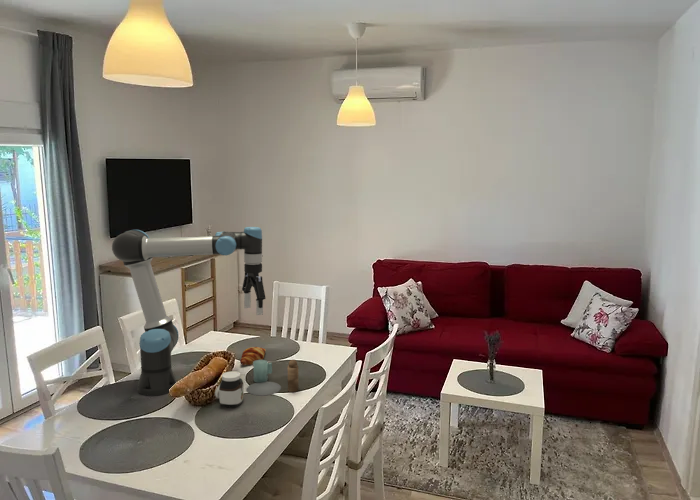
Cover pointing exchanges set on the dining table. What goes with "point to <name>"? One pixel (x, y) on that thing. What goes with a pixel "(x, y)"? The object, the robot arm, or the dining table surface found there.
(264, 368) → the mug
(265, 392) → the grey flat disc
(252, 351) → the croissant
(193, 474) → the dining table surface
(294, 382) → the salt mill
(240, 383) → the spread jar
